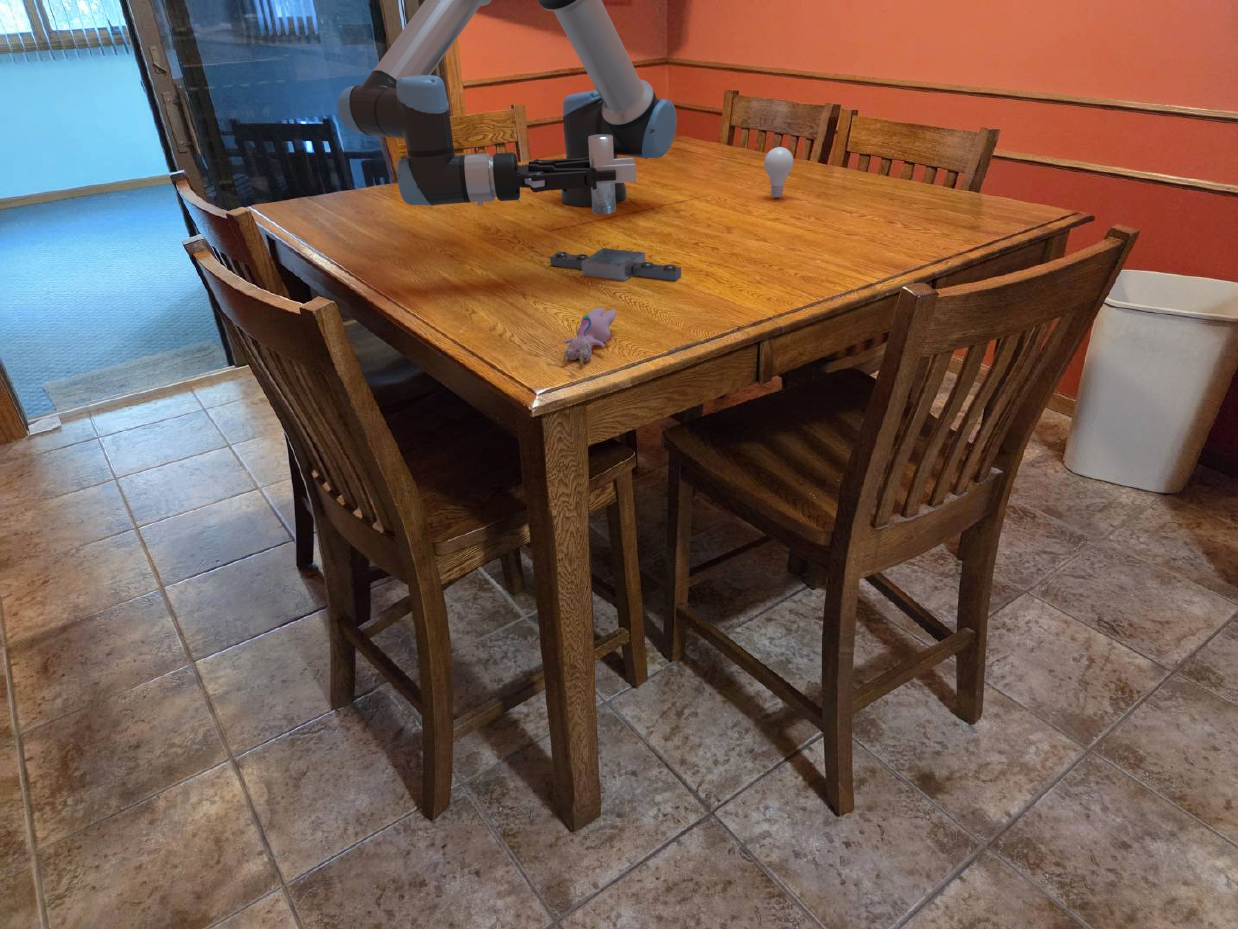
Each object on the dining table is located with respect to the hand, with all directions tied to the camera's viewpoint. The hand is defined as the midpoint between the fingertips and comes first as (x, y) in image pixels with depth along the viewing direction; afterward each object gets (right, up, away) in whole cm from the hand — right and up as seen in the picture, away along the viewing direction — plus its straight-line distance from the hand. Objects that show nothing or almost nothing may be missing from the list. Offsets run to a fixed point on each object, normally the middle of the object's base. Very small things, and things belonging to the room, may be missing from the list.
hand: (634, 169), depth 135 cm
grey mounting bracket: (-3, -15, +10) cm, 18 cm away
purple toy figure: (-6, -32, -18) cm, 38 cm away
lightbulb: (+33, +11, +49) cm, 60 cm away
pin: (-5, -6, +3) cm, 8 cm away
